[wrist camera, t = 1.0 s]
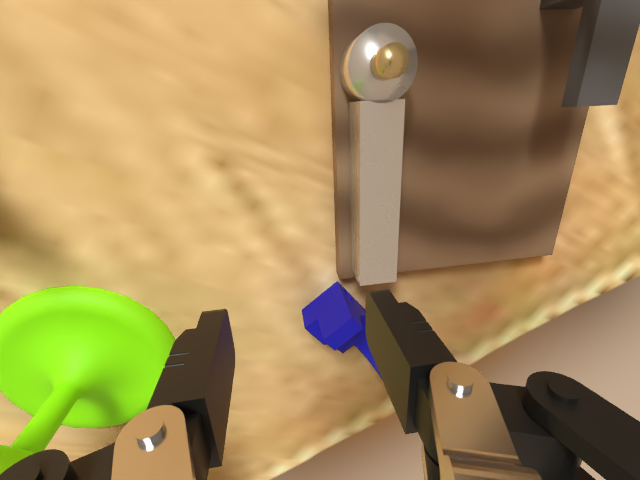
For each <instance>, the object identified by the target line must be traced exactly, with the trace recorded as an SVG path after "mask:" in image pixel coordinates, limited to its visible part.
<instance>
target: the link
mask: <svg viewBox="0 0 640 480" xmlns="http://www.w3.org/2000/svg"><path fill="white" fill-rule="evenodd" d="M417 65H418V57H417V50H416V47H415V44H414V42H413V40H412V38H411V37H410V35H409V34H408V33H407V32H406V31H405V30H404V29H403V28H401V27H400V26H398V25H395V24H392V23H379V24H375V25H373V26H371V27H369V28H367V29H366V30H365V31H364V32H362V33H361V34H360V35H359V36H358V37H356V38H355V39H354V40H353V41H352V42H351V43H350V44H349V45H348V46H347V47H346V49H345V50H344V52H343V54H342V57H341V60H340V65H339V77H340V81H341V84H342V87H343V89H344V90H345V92H346V93H347V95H348V96H349V97H350V98H352V99H353V100H354V101H356V102H349V123H350V207H351V270H352V271H353V273H354V275H355V277H356V279H357V281H358V283H359V285H360V286H364V285H373V284H381V283H390V282H396V280H397V259H398V238H399V218H400V197H401V176H402V156H403V135H404V114H405V99H398V98H399V97H401V96H402V95H403V94H404V93H405V92H406V91H407V90H408V89H409V87H410V86H411V84H412V82H413V80H414V78H415V75H416V71H417Z"/></svg>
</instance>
